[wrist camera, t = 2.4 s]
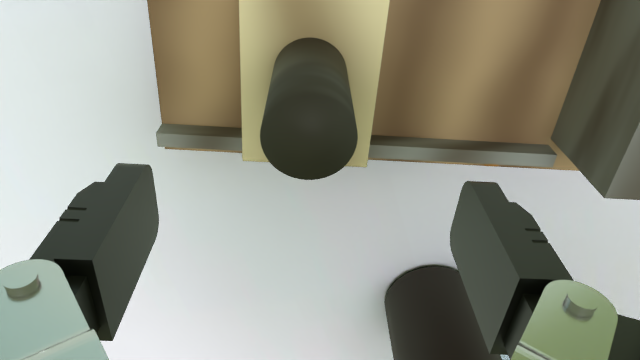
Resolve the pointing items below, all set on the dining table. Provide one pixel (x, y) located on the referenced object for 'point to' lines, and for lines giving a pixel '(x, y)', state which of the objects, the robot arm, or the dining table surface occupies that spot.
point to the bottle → (433, 318)
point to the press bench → (443, 84)
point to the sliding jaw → (309, 82)
